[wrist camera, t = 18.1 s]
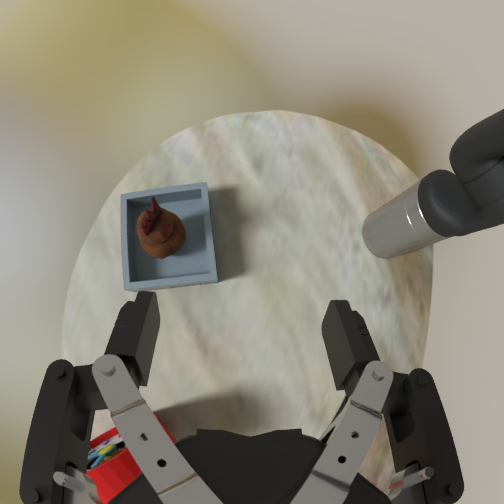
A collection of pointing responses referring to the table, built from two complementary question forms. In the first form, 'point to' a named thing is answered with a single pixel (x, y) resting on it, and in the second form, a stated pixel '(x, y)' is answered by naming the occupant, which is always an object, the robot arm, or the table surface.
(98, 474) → the toy clock
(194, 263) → the box
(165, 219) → the wooden figurine
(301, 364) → the table surface
